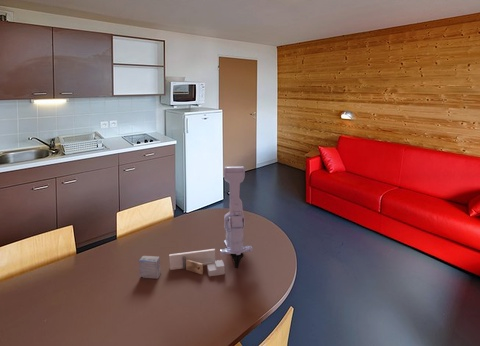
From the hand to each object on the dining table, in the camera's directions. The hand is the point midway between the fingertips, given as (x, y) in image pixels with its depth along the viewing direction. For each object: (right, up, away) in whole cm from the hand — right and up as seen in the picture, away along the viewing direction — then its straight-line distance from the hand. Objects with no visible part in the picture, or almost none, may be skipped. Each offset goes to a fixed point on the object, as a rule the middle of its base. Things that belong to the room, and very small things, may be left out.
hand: (236, 266), depth 141 cm
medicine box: (-38, -3, -5) cm, 38 cm away
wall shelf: (-20, 0, +3) cm, 21 cm away
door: (-19, -2, -2) cm, 19 cm away
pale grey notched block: (-9, -2, -2) cm, 10 cm away
